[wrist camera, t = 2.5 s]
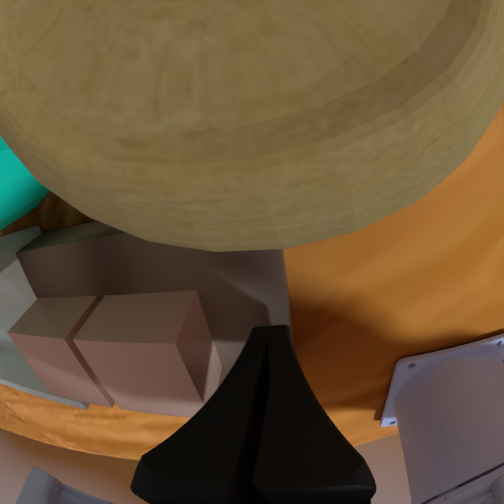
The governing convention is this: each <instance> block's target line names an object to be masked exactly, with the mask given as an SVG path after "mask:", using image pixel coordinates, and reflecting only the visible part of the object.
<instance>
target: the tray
mask: <svg viewBox="0 0 504 504" xmlns="http://www.w3.org/2000/svg"><path fill="white" fill-rule="evenodd" d="M40 234H41V231H40V228H39V225H38V226H34V227H30V228H27V229H23V230H20V231H16V232H13V233H10V234H6V235H3V236H0V383H1V384H4V385H7V386H9V387H12V388H15V389H18V390H20V391H23V392H26V393H29V394H32V395H35V396H39V397H42V398H45V399H49V400H52V401H55V402H59V403H63V404H66V405H70V406H74V407H78V408H82V409H88V407H89V405H90V403H87V402H82V401H78V400H73V399H69V398H65V397H61V396H57V395H53V394H51V392H50V391H49V390H48V389H47V388H46V386H45V385H44V384H43V383H42V381H41V380H40V379H39V377H38V376H37V375H36V373H35V372H34V371H33V369H32V368H31V367H30V365H29V364H28V363H27V361H26V360H25V358H24V357H23V355H22V354H21V353H20V351H19V350H18V348H17V347H16V345H15V344H14V342H13V341H12V339H11V337H10V336H9V334H8V333H7V332H8V331H9V330H10V329H11V327H12V326H13V325H14V324H15V323H16V322H17V321H18V319H19V318H20V317H21V316H22V315H23V314H24V313H25V312H26V310H27V309H28V308H29V307H30V306H31V305H32V304H33V303H34V302H35V301H36V300H37V298H36V296H35V294H34V292H33V290H32V288H31V286H30V284H29V282H28V280H27V278H26V275H25V273H24V271H23V269H22V267H21V265H20V262H19V260H18V258H17V255H16V252H18V251H19V250H20V249H22V248H23V247H24V246H25V245H27V244H28V243H29V242H31V241H32V240H33V239H35V238H36V237H37V236H39V235H40Z"/></svg>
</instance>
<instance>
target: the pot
mask: <svg viewBox="0 0 504 504" xmlns="http://www.w3.org/2000/svg"><path fill="white" fill-rule="evenodd" d="M503 100H504V0H0V136H1V137H2V139H3V140H4V141H5V143H6V144H7V145H8V147H9V148H10V149H11V150H12V151H13V153H14V154H15V155H16V156H17V158H18V159H19V160H20V161H21V162H22V163H23V165H24V166H25V167H26V168H27V169H28V171H29V172H30V173H31V174H32V175H33V176H34V177H35V179H36V180H37V181H38V182H39V183H41V184H42V185H43V186H45V187H46V188H47V189H49V190H50V191H52V192H53V193H54V194H56V195H57V196H59V197H60V198H61V199H63V200H64V201H66V202H67V203H69V204H70V205H71V206H73V207H74V208H76V209H77V210H79V211H80V212H82V213H83V214H85V215H86V216H88V217H90V218H92V219H94V220H97V221H99V222H102V223H104V224H107V225H109V226H112V227H114V228H116V229H119V230H121V231H124V232H126V233H129V234H131V235H134V236H136V237H139V238H141V239H144V240H146V241H151V242H157V243H163V244H170V245H176V246H182V247H188V248H195V249H201V250H207V251H213V252H225V251H248V250H271V249H287V248H291V247H295V246H299V245H303V244H308V243H312V242H316V241H320V240H324V239H328V238H332V237H336V236H340V235H344V234H348V233H353V232H356V231H358V230H360V229H362V228H364V227H366V226H368V225H370V224H372V223H374V222H377V221H379V220H381V219H383V218H385V217H387V216H389V215H391V214H393V213H395V212H397V211H399V210H401V209H403V208H405V207H407V206H409V205H411V204H413V203H415V202H417V201H418V200H419V199H421V198H422V197H423V196H424V195H425V194H427V193H428V192H429V191H430V190H431V189H433V188H434V187H435V186H436V185H437V184H439V183H440V182H441V181H442V180H443V179H444V178H446V177H447V176H448V175H449V174H450V173H451V172H453V171H454V170H455V169H456V168H457V167H458V166H459V165H461V164H462V163H463V162H464V161H465V160H466V158H467V157H468V156H469V154H470V153H471V152H472V150H473V149H474V147H475V146H476V144H477V143H478V141H479V140H480V139H481V137H482V136H483V134H484V133H485V131H486V130H487V128H488V127H489V125H490V124H491V122H492V120H493V119H494V117H495V116H496V114H497V113H498V111H499V109H500V107H501V105H502V103H503Z"/></svg>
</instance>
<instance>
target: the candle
mask: <svg viewBox="0 0 504 504" xmlns="http://www.w3.org/2000/svg"><path fill="white" fill-rule="evenodd" d="M49 192H50V190H49V189H47V188H46V187H45V186H43V185H42V184H41V183H39V182H38V181H37V180H36V179H35V177H34V176H33V175H32V174H31V173H30V172H29V171H28V169H27V168H26V167H25V166H24V165H23V163H22V162H21V161H20V160H19V159H18V158H17V156H16V155H15V154H14V153H13V151H12V150H11V149H10V148H9V147H8V145H7V144H6V143H5V141H4V140H3V139H2V137H1V136H0V231H1V230H2V229H4V228H5V227H7V226H8V225H10V224H11V223H13V222H14V221H16V220H17V219H19V218H20V217H22V216H23V215H25V214H27V213H28V212H30V211H31V210H33V209H35V208H36V207H37V206H38V205H39V204H40V203H41V201H42V200H43V199H44V198H45V197H46V195H47V194H48V193H49Z"/></svg>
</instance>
